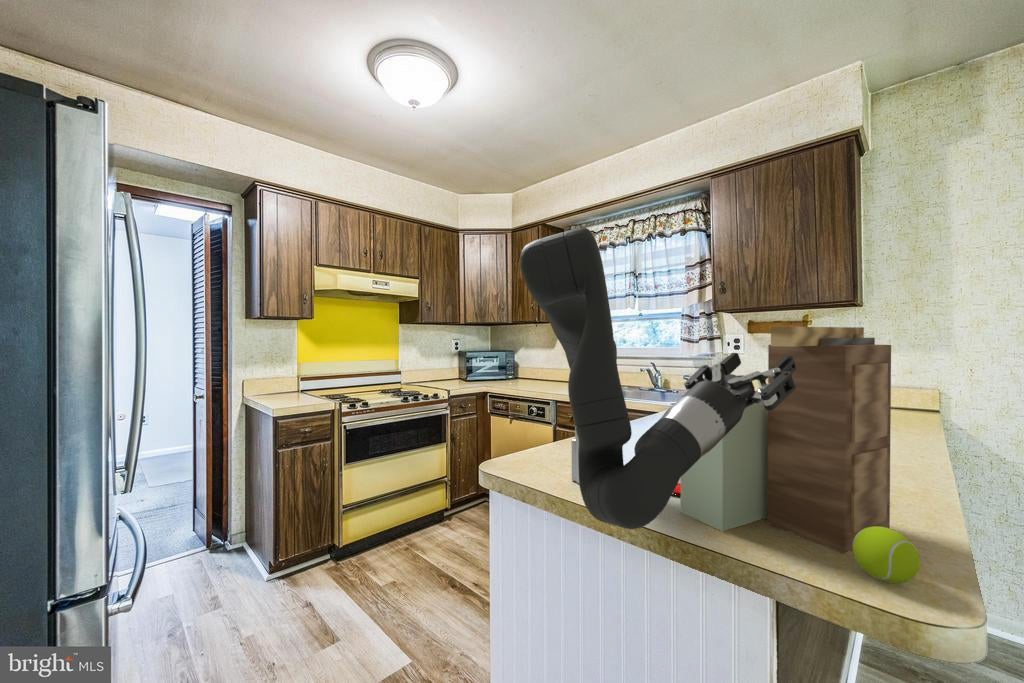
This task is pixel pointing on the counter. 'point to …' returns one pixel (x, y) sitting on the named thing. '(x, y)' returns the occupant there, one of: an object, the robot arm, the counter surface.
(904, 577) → the tennis ball
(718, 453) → the tall sage green block
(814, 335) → the wooden plank
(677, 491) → the toy car
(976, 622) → the counter surface
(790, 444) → the wooden cabinet
